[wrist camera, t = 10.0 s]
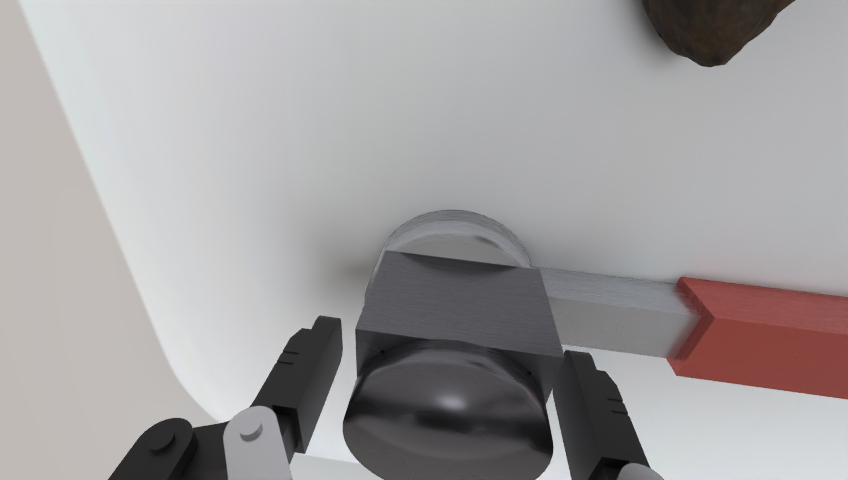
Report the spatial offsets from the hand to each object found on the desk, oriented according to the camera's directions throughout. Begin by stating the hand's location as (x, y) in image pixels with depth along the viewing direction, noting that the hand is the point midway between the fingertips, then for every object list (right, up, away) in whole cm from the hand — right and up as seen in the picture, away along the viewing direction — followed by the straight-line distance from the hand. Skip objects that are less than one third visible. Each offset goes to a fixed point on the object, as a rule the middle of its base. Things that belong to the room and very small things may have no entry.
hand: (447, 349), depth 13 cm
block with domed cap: (0, +1, +1) cm, 2 cm away
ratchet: (+8, +1, +3) cm, 9 cm away
